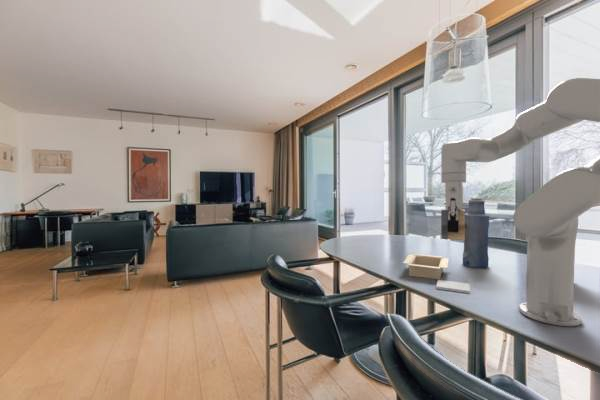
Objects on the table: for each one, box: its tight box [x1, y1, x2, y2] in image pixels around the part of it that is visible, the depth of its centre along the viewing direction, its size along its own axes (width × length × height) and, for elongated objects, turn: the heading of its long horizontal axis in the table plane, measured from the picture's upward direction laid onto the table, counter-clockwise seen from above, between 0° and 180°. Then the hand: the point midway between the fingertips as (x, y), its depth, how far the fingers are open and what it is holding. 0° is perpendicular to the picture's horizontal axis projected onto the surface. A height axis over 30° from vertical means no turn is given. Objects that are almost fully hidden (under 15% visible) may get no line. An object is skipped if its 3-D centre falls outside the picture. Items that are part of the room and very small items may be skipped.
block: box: [440, 208, 466, 241], centre depth 98 cm, size 5×7×10 cm
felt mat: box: [435, 279, 471, 294], centre depth 99 cm, size 8×10×1 cm
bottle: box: [462, 197, 490, 269], centre depth 124 cm, size 10×10×30 cm
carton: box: [402, 253, 450, 280], centre depth 117 cm, size 20×16×5 cm
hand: (453, 230), depth 98 cm, fingers closed on block, 4 cm apart
